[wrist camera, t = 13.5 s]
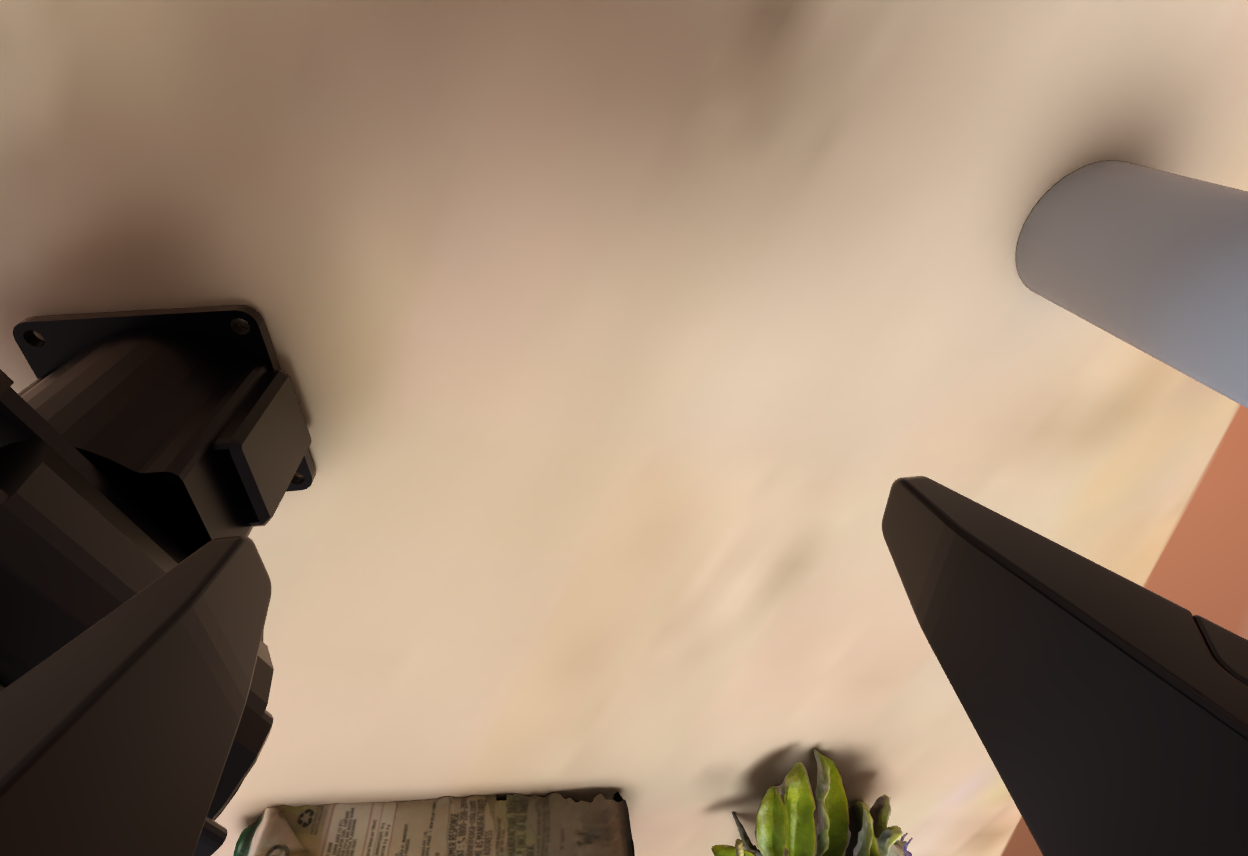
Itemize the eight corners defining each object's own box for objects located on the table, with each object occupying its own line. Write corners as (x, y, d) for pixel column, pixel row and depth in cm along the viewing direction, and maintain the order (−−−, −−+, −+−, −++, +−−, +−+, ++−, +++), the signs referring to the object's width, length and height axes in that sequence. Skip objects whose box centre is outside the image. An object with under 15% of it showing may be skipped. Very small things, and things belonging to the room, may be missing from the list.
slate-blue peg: (998, 301, 22) (1291, 478, 13) (1042, 163, 19) (1435, 273, 11) (1117, 293, 22) (1474, 460, 14) (1175, 157, 20) (1650, 260, 11)
